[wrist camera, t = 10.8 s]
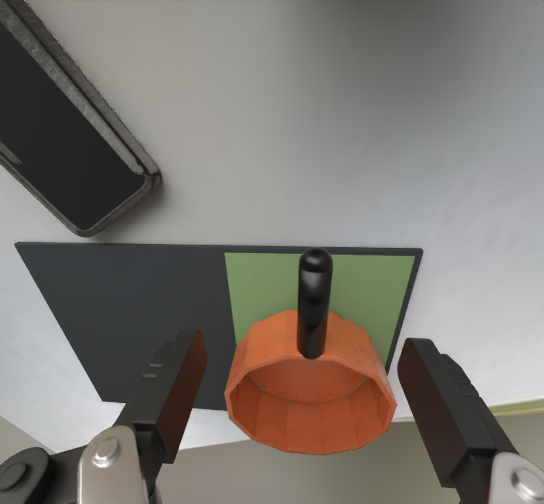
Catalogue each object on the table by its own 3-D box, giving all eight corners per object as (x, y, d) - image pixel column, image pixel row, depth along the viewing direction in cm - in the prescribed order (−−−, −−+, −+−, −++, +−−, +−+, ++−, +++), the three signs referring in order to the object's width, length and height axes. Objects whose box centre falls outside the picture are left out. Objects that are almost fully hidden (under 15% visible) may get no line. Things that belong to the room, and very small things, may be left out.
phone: (-108, -141, 10) (159, 183, 15) (-72, -118, 11) (167, 179, 16) (-164, 10, 13) (82, 244, 18) (-130, 18, 14) (93, 237, 19)
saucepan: (243, 399, 26) (233, 450, 22) (220, 222, 17) (196, 255, 13) (365, 407, 25) (378, 463, 21) (411, 223, 16) (450, 260, 12)
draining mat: (104, 398, 29) (101, 402, 29) (18, 241, 20) (12, 244, 19) (373, 417, 27) (374, 423, 26) (421, 248, 17) (424, 251, 17)
